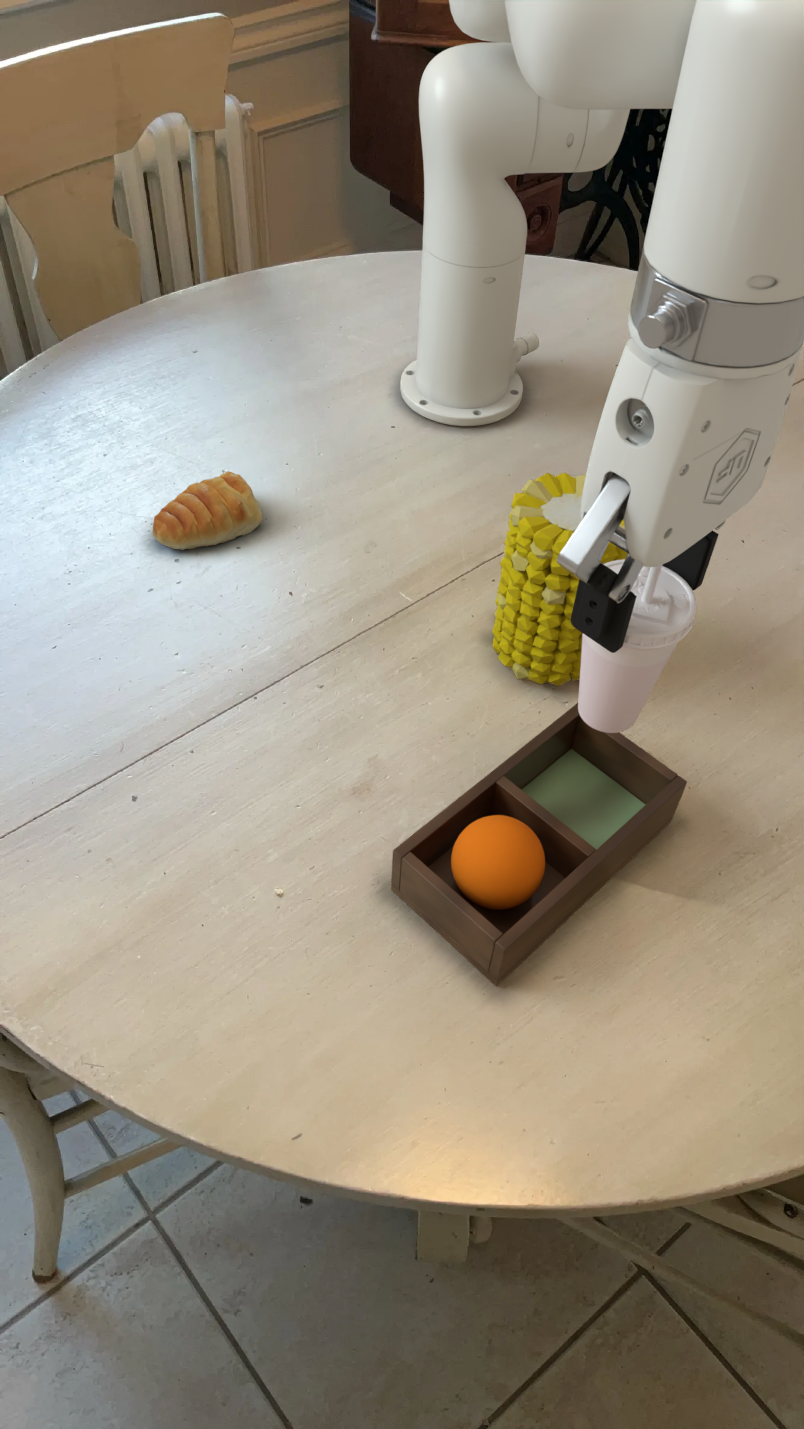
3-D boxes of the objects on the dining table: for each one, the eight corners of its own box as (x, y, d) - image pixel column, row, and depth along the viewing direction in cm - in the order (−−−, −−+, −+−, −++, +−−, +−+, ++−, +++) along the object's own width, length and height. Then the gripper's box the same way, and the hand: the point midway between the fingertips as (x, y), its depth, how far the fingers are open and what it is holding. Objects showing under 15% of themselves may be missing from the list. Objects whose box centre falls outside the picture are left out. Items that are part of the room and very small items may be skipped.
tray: (390, 889, 70) (392, 850, 66) (567, 744, 79) (578, 702, 75) (496, 987, 66) (504, 950, 62) (671, 822, 74) (688, 781, 71)
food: (483, 693, 84) (511, 614, 90) (632, 705, 80) (650, 622, 87) (457, 533, 74) (491, 457, 80) (627, 538, 70) (648, 458, 76)
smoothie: (593, 764, 62) (643, 590, 52) (536, 691, 66) (571, 515, 55) (680, 728, 64) (745, 554, 54) (620, 659, 68) (669, 483, 57)
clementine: (490, 833, 72) (499, 780, 68) (557, 888, 70) (571, 838, 65) (429, 884, 69) (434, 833, 65) (496, 944, 67) (506, 895, 62)
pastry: (178, 568, 90) (172, 533, 87) (138, 528, 93) (131, 493, 90) (270, 526, 94) (267, 491, 91) (228, 489, 97) (224, 454, 94)
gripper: (672, 417, 39) (590, 725, 53) (901, 270, 47) (778, 570, 61) (521, 336, 42) (480, 645, 56) (760, 212, 51) (673, 508, 64)
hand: (636, 603), depth 58 cm, fingers closed on smoothie, 6 cm apart
